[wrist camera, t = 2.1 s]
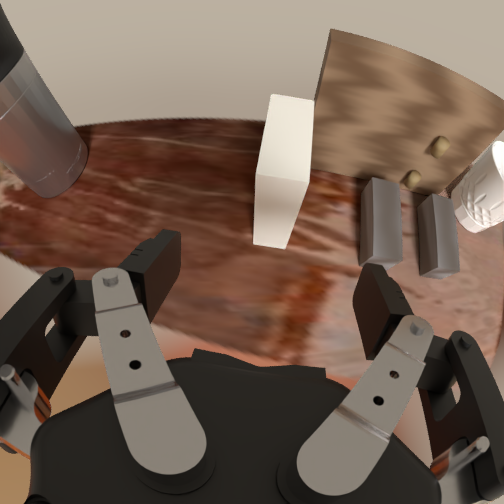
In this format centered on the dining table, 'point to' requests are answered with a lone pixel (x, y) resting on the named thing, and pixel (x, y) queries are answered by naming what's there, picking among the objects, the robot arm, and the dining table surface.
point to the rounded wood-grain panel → (400, 141)
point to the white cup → (482, 192)
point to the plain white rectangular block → (282, 169)
